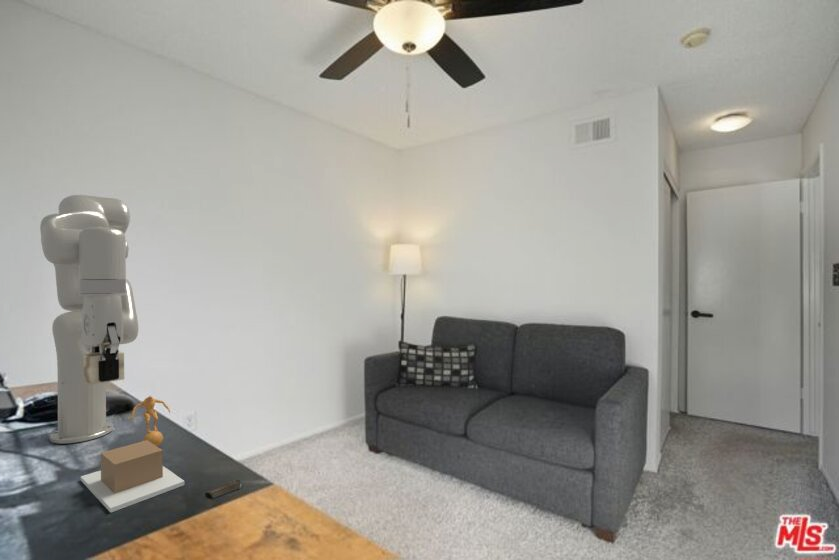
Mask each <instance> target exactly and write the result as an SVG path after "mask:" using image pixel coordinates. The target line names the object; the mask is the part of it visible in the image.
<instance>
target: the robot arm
mask: <svg viewBox="0 0 839 560" xmlns="http://www.w3.org/2000/svg"><path fill="white" fill-rule="evenodd" d="M130 222H131V213H130V209H129V207H128V206H127V204H126V202H124V201H122V200H121V199H118V198H114V197H113V198H112V197H104V196H96V195H95V196H94V195H87V194H73V195H69V196H66V197H64V198H62V199H61V201H60V202H59V205H58V213H52V214H48V215H46V216H44V217H43V218H42V219H41V222H40V226H39V227H40V229H39V230H40V242H41V243H40V244H41V247H42V251H43V256H44V257H45V259H46V261H48V262H49V263H51V264H53V267H54V269H55V271H54V274H55V284H56V294H57V300H58V304H59V306H60V307H61V309H63V310H64V311H67V312H64V313H60V314H59V315H57V316H56V317H55V319H54V320H53V322H52V329H51V330H52V336H53V341H54V347H55V351H56V353H55V354H56V361H57V362H56V363H57V430H54V431H53V432H52V433H50V434H49V441H50V442H51V443H53V444H63V445H65V444H74V443H83V442H86V441H90V440H91V441H92V440H95V439H98V438H101V437H103V436H105V435H107V434H109V433H111V432H112V431H113V430H114V423H112V422H110V421H107V399H106V398H107V392H106V391H107V385H106V384H107V382H105V383H99V384H93V385H91V384H89V383H87V382H85V381H84V354H89V353H98V352H100V359H101V361H99V381H100V382H104V381H110V380H116V379H118V378H119V353H118V351H119V347H120V345H126V344H130V343H132V342H134V341H135V340H136V339H137V337H138V335H139V321H138V314H137V310H136V304H135V298H134V292H133V287H132V285H131V281H129V280H128V279H127V278H126V277H127V270H126V268H127V265H126V260H127V258H128V257H129V251H130V250H129V243H128V241H127V240H126V236H125V234H126V232H127V230H128V228H129V226H130V225H129V224H130ZM119 352H120V351H119Z"/></svg>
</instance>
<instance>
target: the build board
mask: <svg viewBox="0 0 839 560" xmlns="http://www.w3.org/2000/svg"><path fill="white" fill-rule="evenodd" d="M163 456H164V454H163V449H162V448H160V447H159V446H158V447H157V446H155V445H154V444H152V443H151V442H149V441H148V440H146V441H143V440H142V441H138V442H135V443H132V444H128V445H127V444H126V445H124V446H120V447H117V448H113V449H110V450H106V451H102V452H100V470H98V471H94V472H91V473H88V474H85V475H81V476H80V481H81V482H82V484H83V485H84V486H85V487H86V488H87V489H88V490H89V491H90V492H91V494H93V496H94V497H95V499H98V501H99V502H100V503H101V504H102V506H104V507H105V509H107V511H108V512H109V513H110V514H111V513H114V512H116V511H119V510H122V509H124V508H128V507H129V506H133V505H136V504H137V503H138V504H139V503H140V502H143V501H146V500H148V499H151V498H154V497H156V496H159V495H162V494H164V493H168V492H170V491H172V490H175V489H177V488H180V487H183V486H185V480H184V479H182V478H181V477H180V476H178V475H177V474H175V473H174V472H173V471H171V470H170V469H168V467H165V466H164V465H163V462H164V461H163V459H164V458H163Z"/></svg>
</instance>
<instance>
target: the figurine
mask: <svg viewBox="0 0 839 560" xmlns="http://www.w3.org/2000/svg"><path fill="white" fill-rule="evenodd" d="M156 403H157V404H162V405H163V406H164V407H165V408H166V409H167V411H168V413H169V414H171V410H170V408H169V406H168V405H167V403H165V401H163V400H160V399H157V398H153V396H152V395H149V396H148V397H146V398H145V399H144V400H142V401H141V402H140V403H138V404H137V405H135V406H134V407H132V408H133V409H132V412H131V415H130V419H129V420H130V422H131V423H132V422H133V420H134V415H135V412H136V409H139V408H140V407H142V406H144V408H145V410H146V412H143V417H144V421H145V422H146V423H145V426H146V430H147V433H146V434H145V435H144V437H143V439H142V441H146V440H148V441H149V442H151V443H152V444H154V445H155V446H157V447H159V446H160V445H161V444H162V443H163V440H164V436H163V433H162V432H161V431H159V430H158V428H157V426H156V424H158V420H159V418H158V417H159V416H158V414H157V410H156V409H155V410H154V408H155V404H156ZM151 416H152V417H151ZM151 418H152V419H154V421H153V430H151V429H150V420H151Z"/></svg>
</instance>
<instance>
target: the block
mask: <svg viewBox="0 0 839 560" xmlns="http://www.w3.org/2000/svg"><path fill="white" fill-rule="evenodd" d="M240 489H242V481H241V480H239V479H234V480H232V481H230V482H227V483H225V484H222V485H220V486H218V487H216V488H212V489H210V490H209V491H206V492H205V495H206V496H207V497H209V498H210V499H212V500H213V499H216V498H220V497H223V496H225V495H228V494H230V493H232V492H235V491H239V490H240Z"/></svg>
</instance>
